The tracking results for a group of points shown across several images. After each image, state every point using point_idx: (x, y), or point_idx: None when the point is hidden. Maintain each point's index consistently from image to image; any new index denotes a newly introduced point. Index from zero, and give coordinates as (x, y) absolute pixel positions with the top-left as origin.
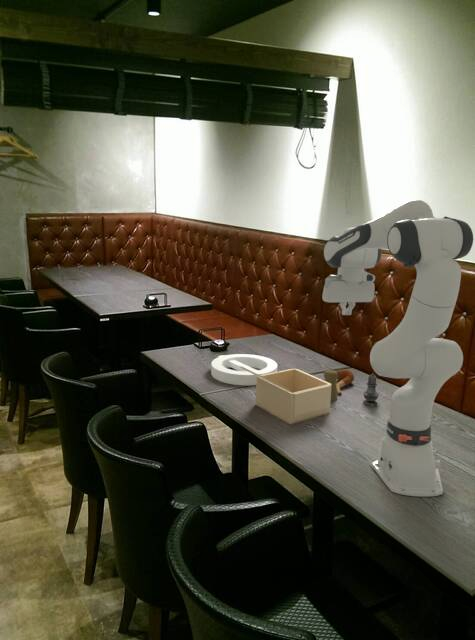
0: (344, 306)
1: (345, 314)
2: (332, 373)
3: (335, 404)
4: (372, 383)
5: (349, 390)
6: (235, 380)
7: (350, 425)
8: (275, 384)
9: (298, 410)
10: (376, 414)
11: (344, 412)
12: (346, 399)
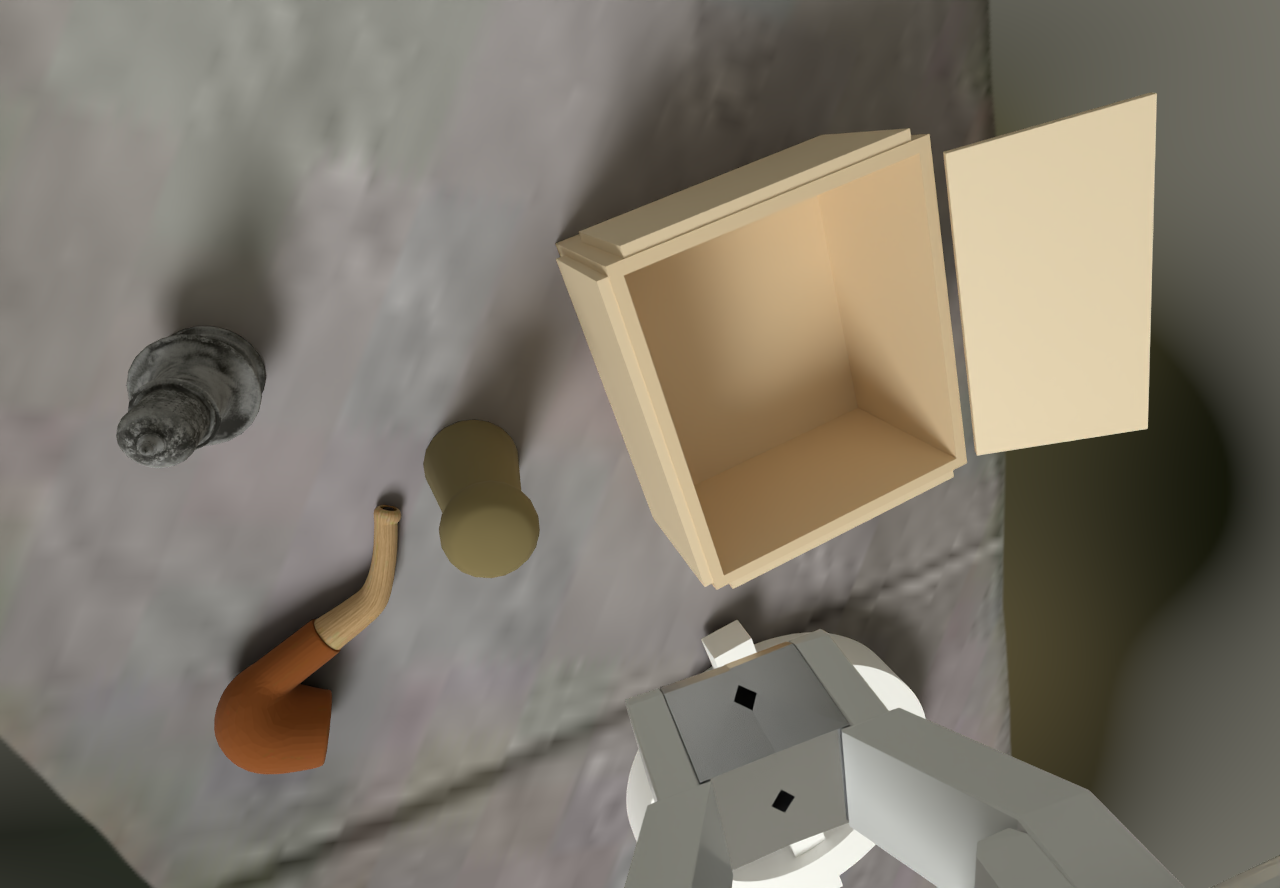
0: (1020, 776)
1: (803, 636)
2: (497, 508)
3: (467, 371)
4: (176, 393)
5: (295, 575)
6: (861, 650)
7: (492, 33)
8: (1107, 106)
9: (812, 144)
10: (235, 168)
11: (455, 243)
12: (367, 439)
